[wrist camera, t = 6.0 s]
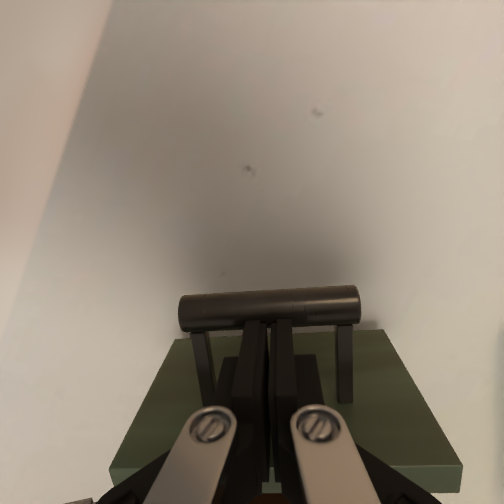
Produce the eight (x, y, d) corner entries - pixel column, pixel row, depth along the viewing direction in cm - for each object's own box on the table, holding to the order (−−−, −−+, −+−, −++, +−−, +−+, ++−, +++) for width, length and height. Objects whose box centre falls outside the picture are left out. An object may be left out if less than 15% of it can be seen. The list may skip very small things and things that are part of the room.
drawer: (158, 258, 17) (69, 346, 10) (386, 241, 16) (483, 327, 9) (209, 516, 23) (178, 694, 16) (377, 517, 22) (430, 708, 15)
